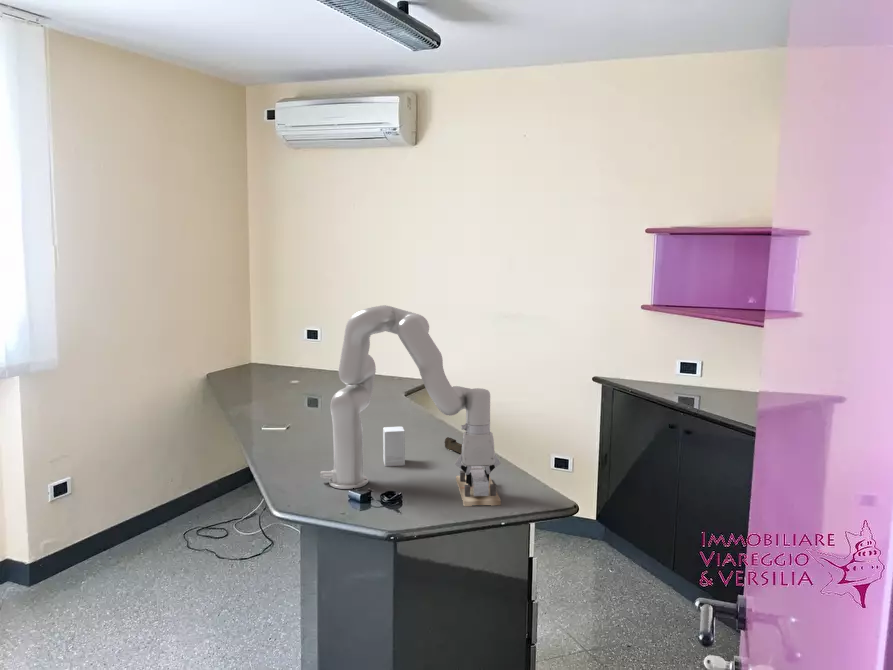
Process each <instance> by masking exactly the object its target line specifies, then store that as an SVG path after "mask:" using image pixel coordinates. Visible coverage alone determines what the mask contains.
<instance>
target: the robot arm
mask: <svg viewBox="0 0 893 670" xmlns="http://www.w3.org/2000/svg"><path fill="white" fill-rule="evenodd" d="M429 330H430V324H429V322H428V319H427V318H426V317H425V316H423V315H421V314H420V313H415V312H412V311H408V310H404V309H401V308H397V307H394V306H390V305H387V304H386V305H385V304H384V305H378V306H377V305H376V306H371V307H367V308H364V309H361V310H358V311H357V312H355V313H353V314H352V315H351V316H350V318H349V319H348V321H347V323H346V324H345V330H344V337H343V343H342V347H341V354H340V360H339V366H338V377H339V380H340V381H341V382H342V383H343V384H345V387H344V388H341V389H339V390H337V392H335V393H334V394H333V396H332V398H331V400H330V406H329V407H330V409H329V410H330V414H331V421H332V440H333V441H332V442H333V445H332V446H333V447H332V448H333V468H332V469H331V470H328V471H327V470H321V471H320V474H319V477H320V478H323V479H324V480H325V479H329V481H328V482H329V483H328V484H329V486H330V487H332V488H335V489H341V490H351V489H352V490H353V488H354V489H358V488H361V487H364V486H366V485H367V484H368V483H369V478H368V477H367V476H366V475H364V450H363V449H364V441H363V439H364V438H363V437H364V435H363V432H364V431H363V424H362V418H361V413H362V411H364V410H366V409H367V408H368V406H369V405H370V403H371V400H372V396H373V390H374V384H375V377H376V372H377V371H376V370H377V369H376V362H375V360H374V358H373V357H372V356H371V355H370V354H369V352H370V348H371V342H370V341H371V340H370V339H371V336H372V335H376V334H381V333H384V332H387V333H390V334H394V335H397V336H398V339H399V340H400V341H401V343H402V344H403V347H404V348H405V349H406V351H407V352H408V354H409V355H410V357H411V359H412V360H413V362H414V364H415V365H416V367H417V369H418V371H419V375H420V377H421V380H422V383H423V385H424V387H425V389H426V392H427V394H428V395H429V398H430V399H431V400H432V402H433V403H434V405H435V406H436V408H437V409H438V410H439V411H440V413H442V414H443V415H446V416H448V417H449V416H455V415H457V414H458V413H460V412H461V411H462V410H465V423H464V424H463V425H462V424H461V425H460V428H461V430H463V431H464V432H463V436H462V442H461V444H462V452H461V454H460V455H459V456H458V457H457V459H456V460H455V462H454V464H455V466H456V467H458V468H460V469H461V471H464V472H465V476H466V484H468V485H470V487H471V472H470V470H471V466H482V467H484V470H485V471H484V472H485V474H486V477H487V479H488V481H489V476H490V474H491V472H492V471H493V470H494V469H496V467H497V468H498V466H499V465H501V461H500V459H499V458H498V457H497V455H496V454H495V453H496V452H495V439H494V435H493V432H492V431H491V393H490V391H489V390H488V389H486V388H479V387H478V388H468V387H463V386H457V385H456V386H452V384H451V383H450V381H449V379H448V378H447V376H446V373H445V369H444V365H443V364H444V363H443V355H442V353H441V351H440V349H439V348H438V346H437V345H436V342H434V340H433V338H432V337H431V335H430V334H429V332H430V331H429Z"/></svg>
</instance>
